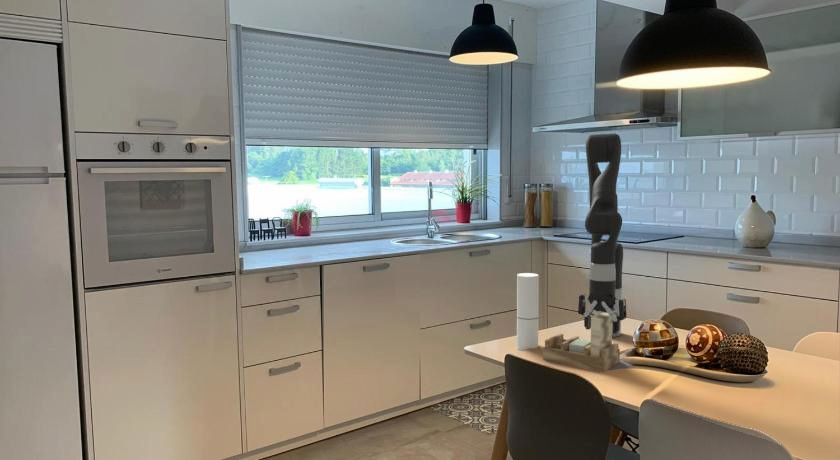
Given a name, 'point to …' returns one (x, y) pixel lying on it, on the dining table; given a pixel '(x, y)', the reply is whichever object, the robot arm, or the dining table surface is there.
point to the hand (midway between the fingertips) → (601, 331)
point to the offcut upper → (579, 345)
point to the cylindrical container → (527, 310)
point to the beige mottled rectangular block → (600, 333)
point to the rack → (579, 354)
